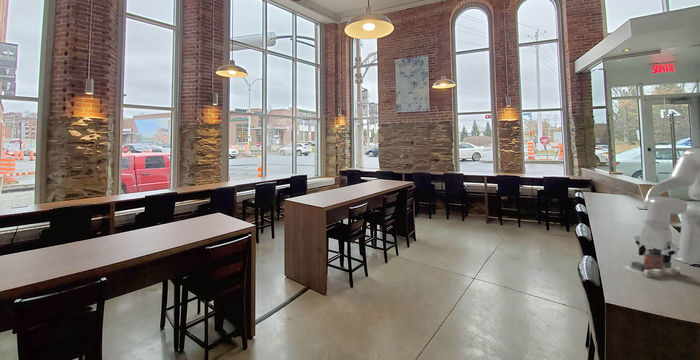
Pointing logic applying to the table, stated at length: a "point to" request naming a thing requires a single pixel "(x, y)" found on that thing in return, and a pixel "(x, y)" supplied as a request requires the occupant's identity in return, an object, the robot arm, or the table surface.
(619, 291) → the table surface
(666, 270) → the white base plate
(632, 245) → the table surface
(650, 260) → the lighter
